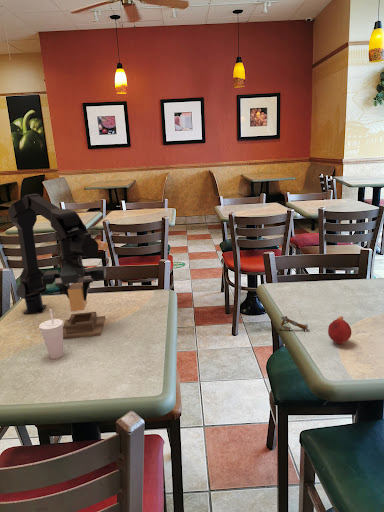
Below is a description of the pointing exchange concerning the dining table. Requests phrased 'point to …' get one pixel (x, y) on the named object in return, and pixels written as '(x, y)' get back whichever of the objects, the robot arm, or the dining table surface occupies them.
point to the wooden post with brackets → (291, 323)
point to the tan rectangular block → (76, 297)
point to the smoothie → (53, 336)
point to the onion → (339, 330)
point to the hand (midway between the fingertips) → (78, 301)
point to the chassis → (83, 325)
